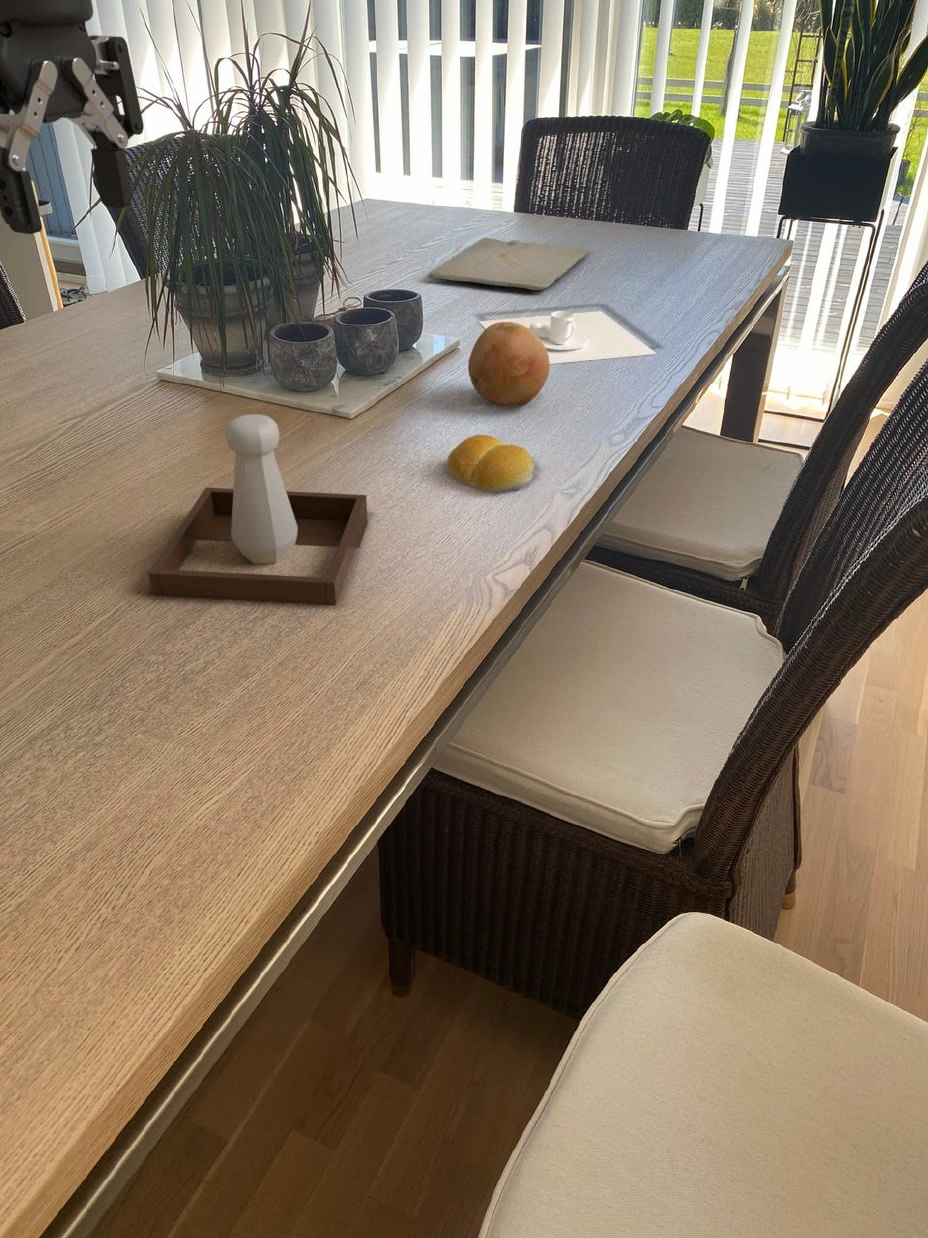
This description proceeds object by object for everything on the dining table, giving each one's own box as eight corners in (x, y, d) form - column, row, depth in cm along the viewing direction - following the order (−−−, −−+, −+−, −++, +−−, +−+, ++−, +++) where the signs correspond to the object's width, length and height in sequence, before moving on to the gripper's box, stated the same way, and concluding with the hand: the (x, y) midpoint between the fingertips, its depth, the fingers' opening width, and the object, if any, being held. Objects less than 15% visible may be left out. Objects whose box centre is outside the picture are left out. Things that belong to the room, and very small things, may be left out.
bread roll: (505, 503, 95) (506, 467, 93) (435, 478, 100) (435, 443, 97) (550, 474, 101) (552, 439, 98) (482, 451, 105) (483, 418, 103)
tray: (154, 604, 80) (148, 573, 78) (210, 515, 93) (205, 487, 91) (337, 614, 79) (334, 583, 77) (367, 523, 92) (366, 494, 90)
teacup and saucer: (521, 334, 138) (523, 306, 135) (573, 330, 140) (575, 302, 137) (542, 355, 131) (544, 325, 128) (596, 350, 133) (598, 320, 130)
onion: (564, 404, 117) (570, 323, 111) (508, 427, 111) (511, 342, 105) (507, 383, 122) (509, 304, 116) (451, 403, 116) (451, 322, 111)
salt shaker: (225, 568, 84) (203, 431, 76) (247, 536, 88) (228, 404, 81) (289, 574, 83) (273, 436, 75) (308, 541, 88) (294, 408, 80)
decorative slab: (479, 246, 180) (480, 235, 179) (589, 256, 174) (590, 245, 173) (427, 283, 159) (427, 271, 158) (549, 297, 153) (550, 285, 152)
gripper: (52, -71, 62) (104, 194, 72) (-141, -77, 52) (-51, 235, 61) (142, -71, 60) (184, 204, 69) (-41, -78, 49) (37, 248, 59)
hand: (73, 218), depth 65 cm, fingers open, 8 cm apart
